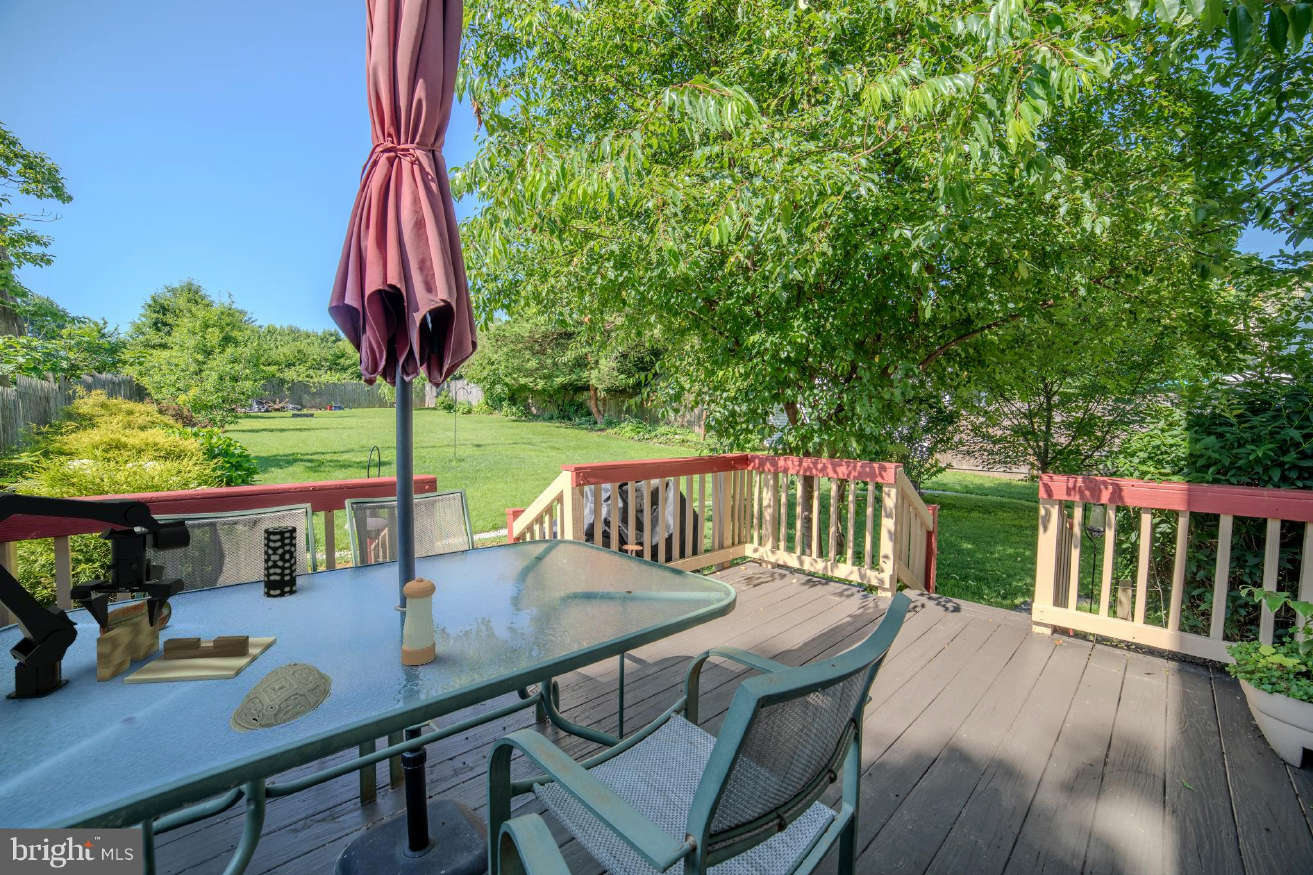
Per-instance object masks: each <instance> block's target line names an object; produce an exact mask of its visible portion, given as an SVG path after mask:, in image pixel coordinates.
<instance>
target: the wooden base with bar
mask: <svg viewBox="0 0 1313 875" xmlns="http://www.w3.org/2000/svg"><path fill="white" fill-rule="evenodd" d="M276 642H277V636H269V637H265V636H264V637H250V635H227V636H224V635H223V636H217V637H216V638H214V639H202V638H201V637H175V638H174V637H173V638H168V639H166V640H165V641H163V642H162V644H163V647H162V648H163V652H162V653H163V654H160V656H158V657H156V658H155V659H153V660H152V661H150V662H148V663H147V664H146V665H143V666H142V667H141V668H139V669H137V670H136V671H135V672H133V673H131V674H130V675H128V676H126V677H125V678H123V684H124V685H125V684H126V685H127V684H128V685H129V684H147V683H148V684H149V683H166V682H168V683H169V682H186V681H202V680H203V681H206V680H223V679H227V680H228V679H234V678H235V677H236V676H238V675H239V674H240V673H241V672H243V670H245V669H246V668H247V667H248V666H249V665H250V664H251V663H253V662H254V661H255V660H257V658H259V657H260V656H261V655H262V654H263V653H265V652H266V651H267V650H268V649H269V648H270V647H271V646H272V645H273V644H275V643H276Z"/></svg>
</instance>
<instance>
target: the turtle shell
mask: <svg viewBox="0 0 1313 875" xmlns="http://www.w3.org/2000/svg"><path fill="white" fill-rule="evenodd" d="M332 681H333V679H332V677H331V676H330V675H329V674H328V673H325V672H322V671H320V670H319V669H318V668H317V667H316V666H314V665H312V664H309V663H305V662H296V661H292V662H289V663H288V664H285V665H283V666H282V665H281V666H280V667H275V668H274V669H273V670H271V671H270V672H268V673H267V674H265V676H264V677H263V678H261V679H260V680H259V681H258V682H257V683H256V684H255V685H254V686H253V687H252V688H251V689H250V690H249V692H248V693H247V694H246V695H245V696H244V698H243V700H242V702H241V704H240V705H239V706H238V707H236V708H235V710H234V711H233V713H232V715H231V717H232V718H231V719H230V721H229V726H230V727H231V729H232V730H234V731H236V732H237V733H243V734H245V733H244V732H245V731H252V730H253V731H254V730H258V729H264V728H272V727H273V726H277V725H280V724H286V722H290V721H292V720H295V719H298V718H299V717H302V716H303V715H306V714H307V713H309V712H311V711H313V710H315V708H318V706H319V705H320V704H322V703H323V704H324V702H326V700H327V699H328V697H330V695H331V693H332V692H331V691H330V690H331V688H332V685H331V684H332ZM323 704H322V705H323ZM318 709H319V708H318ZM253 719H255V720H253ZM256 720H257V721H256ZM238 731H239V732H238Z"/></svg>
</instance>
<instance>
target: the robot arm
mask: <svg viewBox="0 0 1313 875" xmlns="http://www.w3.org/2000/svg"><path fill="white" fill-rule="evenodd" d="M14 515H28V516H29V515H30V516H39V517H40V516H43V517H53V518H54V517H56V518H70V519H85V520H93V521H98V522H102V523H106V524H112V525H116V526H121V527H125V528H122V529H115V528H114V527H111V526H108V527H107V528H106V529H105V530H104V531H102V532H101V533H99V534H98V535H97V539H100V540H104V541H110V563H108V564H106V565H105V566H106V570H110V580H109V579H88V580H86V581H82V582H80V583H78V584H75V585H73V586H72V587H71V589H70V590H69V600H73V601H75V600H76V604H81V605H82V606H83V607H84V608H85V609H86V610H87V611H88V612H89V614H90V615H91V617H93V619H94V620H95V621H96V623H97V625H98V626H99V628H100V627H101V628H102V629H104V628H106V627H107V626H108V613H109V600H110V598H111V596H112V594H118V593H119V594H129V593H130V594H131V593H132V594H133V593H134V594H135V593H137V594H138V593H147V595H148V596H149V597H150V598H147V607H148V617H149V624H150V627H154V626H155V625H156V623H157V621H158V618H159V616H160V614H161V612H162V609H163V607H164V605H165V604H166V602H167V601H168V600H170V598H172V597H174V596H176V595H177V594H179V593H180V592H183V591H185V581H184V580H183V579H182V578H181V577H177V578H176V577H175V578H174V577H170V578H169V577H168V578H163V575H164V570H165V567H166V566H164V565H160V564H152V560H151V557H147V549H148V550H152V551H153V553H156V554H157V553H161V552H162V553H163V552H168V551H169V552H170V551H175V550H183V549H187V548H188V547H189V546H190V544H191V533H190V531H189V529H188V526H187V525H186V520H185V519H181V518H179V519H175V520H169V521H162V522H159V521H158V520H157V519H156V518H155V517H154V516H153V515H152V514H151V509H150V506H149V505H148V504H147V503H146V502H144V501H140V500H134V499H129V498H108V499H106V498H105V499H97V500H96V499H94V500H93V499H92V500H88V499H87V500H86V499H85V500H84V499H78V498H77V499H75V498H65V497H54V496H44V495H43V496H40V495H33V494H31V495H30V494H23V493H22V494H21V493H20V494H19V493H15V492H11V491H1V492H0V524H1V523H3V521H5V520H6V519H8V518H10V517H12V516H14ZM134 528H139V529H140V528H141V529H143V530H138V531H137V530H135V529H134ZM154 580H156V581H155V582H152V581H154ZM148 582H150V583H148ZM151 582H152V583H151ZM0 604H1V605H2V606H3V608H5V609H6V611H8V612H9V613H10V614H11V615H12V616H13V617H14V619H15V620H16V623H17V625H18V628H19V630H20V632H21V633H22V634H23V636H24V637H22V638H21V639H20V640H19V641H18V642H17V643H15V645H14V646H12V648H10V649H9V653H10V654H11V656H12V659H14V660H16V661H18V662H17V663H16V665H15V666H14V691H12V692H10V693H8V694H6V695H5V699H22V698H23V699H24V698H42V697H46V696H47V695H49V694H51V693H53V692H54V691H57V690H58V689H60V688H62V687H64V686H65V685H67V684H68V683H70V681H71V680H70V679H69V678H68V679H62V677H63V674H62V661H63V659H64V658H65V655H66V653H67V651H68V648H69V647H70V646H72V645H74V644H73V643H74V642H75V641H76V639H77V636H78V630H77V628H76V627H75V626H78V624H79V623H77V622H76V621H73V620H71V618H70V617H69V615H68V613H67V612H66V611H65V610H64V609H62V608H60V607H58V606H57V605H54V604H51V605H50V606H49V607H47V608H45V607H44V606H42V604H40V602H39V601H38V600H37V599H36V598H35V597H34V596H33V595H32V594H31V593H30V592H29V591H28V589H26V588H25V587H24V586H23V585H22V584H21V583H20V581H18V580H17V579H16V578H15V577H14V576H13V575H12V573H10V572H9V571H8V570H7V568H5V567H4V566H3V564H1V563H0Z"/></svg>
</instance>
